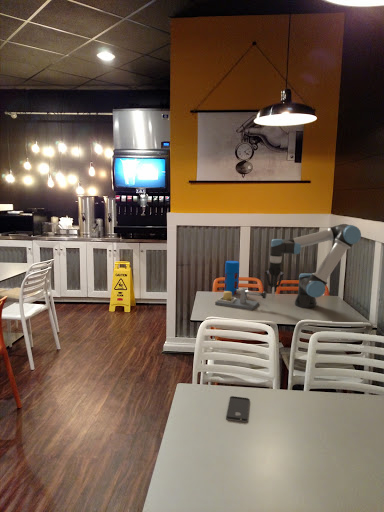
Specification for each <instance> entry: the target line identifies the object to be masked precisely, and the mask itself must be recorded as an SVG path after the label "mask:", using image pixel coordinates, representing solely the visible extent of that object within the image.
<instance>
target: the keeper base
mask: <svg viewBox="0 0 384 512" xmlns="http://www.w3.org/2000/svg"><path fill="white" fill-rule="evenodd" d="M240 290H241V293H240V298H237V297H233V296H232V299H231V301H227V300H223V295H222V296H221V297H219V298H218V299H217V300H216V301H215V302H214V303H215V305H216V306H221V307H222V306H223V307H228V308H234V309H241V310H248V311H253V310H254V309H255V308H257V307H258V306H259V304H260V302H259V301H257V300H256V301H255V300H248V299H247V295H248V294H245V290H246V291H248V289H247V288H245V287H244V288H242V289H240Z"/></svg>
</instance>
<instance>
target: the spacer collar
mask: <svg viewBox="0 0 384 512" xmlns="http://www.w3.org/2000/svg"><path fill="white" fill-rule="evenodd" d="M222 296H223V300H227V301H231V299H232V297H233V295H232V292H230V291H223V293H222Z"/></svg>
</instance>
